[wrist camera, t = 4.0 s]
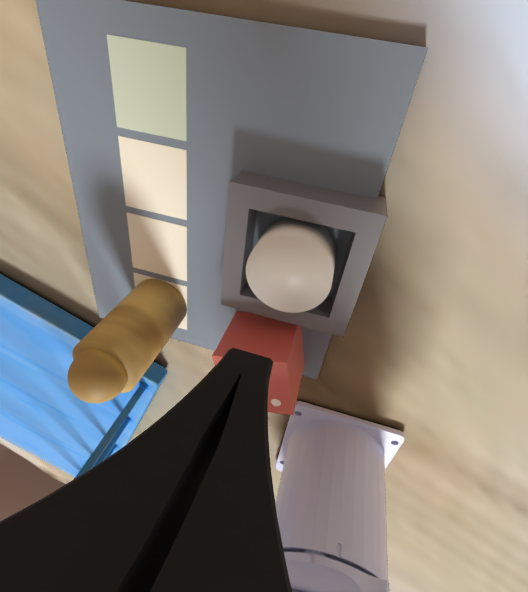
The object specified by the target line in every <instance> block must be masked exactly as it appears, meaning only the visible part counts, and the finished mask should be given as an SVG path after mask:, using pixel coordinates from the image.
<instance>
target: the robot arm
mask: <svg viewBox="0 0 528 592" xmlns="http://www.w3.org/2000/svg"><path fill="white" fill-rule="evenodd" d="M272 366H273V361H272V360H271V358H268V357H264V356H261V355H257V354H254V353H250V352H247V351H243V350H240V349H236V348H231V349H229V350H228V351H227V353H226V354H225V355H224V356H223V358H222V359H221V360H220V361H219V362H218V363H217V365H216V366H215V367H214V368H213V369H212V370H211V371H210V372H209V373H208V374H207V375H206V376H205V377H204V378H203V379H202V380H201V381H200V382H199V383H198V384H197V385H196V386H195V387H194V388H193V389H192V390H191V391H190V392H189V393H188V394H187V395H186V396H185V397H184V398H183V399H182V400H181V401H180V402H178V403H177V404H176V405H175V406H174V407H173V408H172V409H170V410H169V411H168V412H167V413H166V414H165V415H164V416H162V417H161V418H160V419H159V420H158V421H156V422H155V423H154V424H153V425H152V426H150V427H149V428H148V429H147V430H145V431H144V432H143V433H141V434H140V435H139V436H137V437H136V438H135V439H133V440H132V441H131V442H129V443H128V444H127V445H125V446H124V447H122V448H121V449H120V450H118V451H117V452H115V453H114V454H112V455H111V456H110V457H108V458H107V459H105V460H104V461H102V462H101V463H99V464H98V465H96V466H95V467H93V468H92V469H90V470H89V471H87V472H85V473H84V474H82V475H81V476H79V477H77V478H76V479H74V480H72V481H71V482H69V483H68V484H66V485H64V486H63V487H61V488H60V489H58V490H56V491H55V492H53V493H51V494H50V495H48V496H46V497H45V498H43V499H41V500H39V501H38V502H35V503H34V504H32V505H30V506H28V507H26V508H25V509H23V510H21V511H19V512H17V513H15V514H14V515H11V516H10V517H8V518H6V519H4V520H2V521H0V592H390V588H389V582H388V555H387V522H386V489H385V469H386V467H387V466H388V464H389V463H390V461H391V460H392V458H393V457H394V455H395V454H396V452H397V451H398V449H399V448H400V446H401V445H402V443H403V442H404V440H405V435H404V433H403V432H402V431H400V430H396V429H393V428H390V427H386V426H383V425H380V424H376V423H373V422H369V421H366V420H363V419H359V418H356V417H353V416H349V415H346V414H342V413H339V412H336V411H332V410H329V409H326V408H322V407H319V406H315V405H312V404H309V403H305V402H302V401H296V405H295V410H294V415H290V418H289V421H288V425H287V428H286V431H285V435H284V438H283V442H282V445H281V449H280V452H279V455H278V459H277V462H276V466H275V467H276V469H277V470H278V471H281V472H282V474H281V479H280V484H279V488H278V493H277V497H276V502H275V499H274V492H273V484H272V476H271V467H270V456H269V442H268V388H269V380H270V375H271V371H272Z"/></svg>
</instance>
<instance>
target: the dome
mask: <svg viewBox="0 0 528 592" xmlns="http://www.w3.org/2000/svg"><path fill="white" fill-rule="evenodd" d="M336 259H337V249H336V245H335V242H334V239H333V237H332V236H331V234H330V233H329V231H328V230H327V229H326V228H325V227H324V226H322V225H319V224H315V223H311V222H306V221H302V220H297V219H293V218H289V217H283V218H281V219H278V220H276V221H274V222H273V223H272V224H270V225H269V226H268V227H267V228H266V230H265V231H264V233H263V234H262V236H261V237H260V239H259V241H258V242H257V244H256V245H255V247H254V249H253V250H252V252H251V254H250V255H249V257H248V260H247V264H246V278H247V281H248V284H249V286H250V288H251V290H252V291H253V293H254V294H255V295H256V296H257V298H258V299H260V300H261V301H262V302H263V303H265V304H266V305H268V306H269V307H271V308H274V309H276V310H279V311H283V312H289V313H298V312H304V311H308V310H311V309H313V308H315V307H317V306H318V305H320V304H321V303H322V302H323V301H324V300H325V299H326V297H327V296H328V294H329V292H330V289H331V286H332V281H333V275H334V270H335V264H336Z"/></svg>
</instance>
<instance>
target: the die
mask: <svg viewBox="0 0 528 592" xmlns="http://www.w3.org/2000/svg"><path fill="white" fill-rule="evenodd" d="M231 348H236V349H240V350H243V351H247V352H250V353H254V354H257V355H261V356H264V357H268V358H271V360H272V361H273V366H272V371H271V375H270V380H269V388H268V412H272V413H279V414H287V415H294V410H295V405H296V401H297V396H298V392H299V387H300V383H301V378H302V374H303V369H304V365H305V363H304V351H303V339H302V327H301V326H298V325H295V324H291V323H287V322H283V321H280V320H276V319H272V318H269V317H265V316H261V315H257V314H254V313H250V312H242V311H236V313H235V314H234V316H233V318H232V320H231V322H230V324H229V326H228V327H227V329H226V331H225V333H224V335H223V337H222V339H221V341H220V342H219V344H218V346H217V348H216V350H215V352H214V354H213V355H212V357H213V360H214V364H215V366H216V365H217V363H218V362H219V361H220V360H221V359H222V358H223V356H224V355H225V354H226V353H227V351H228V350H229V349H231Z"/></svg>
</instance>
